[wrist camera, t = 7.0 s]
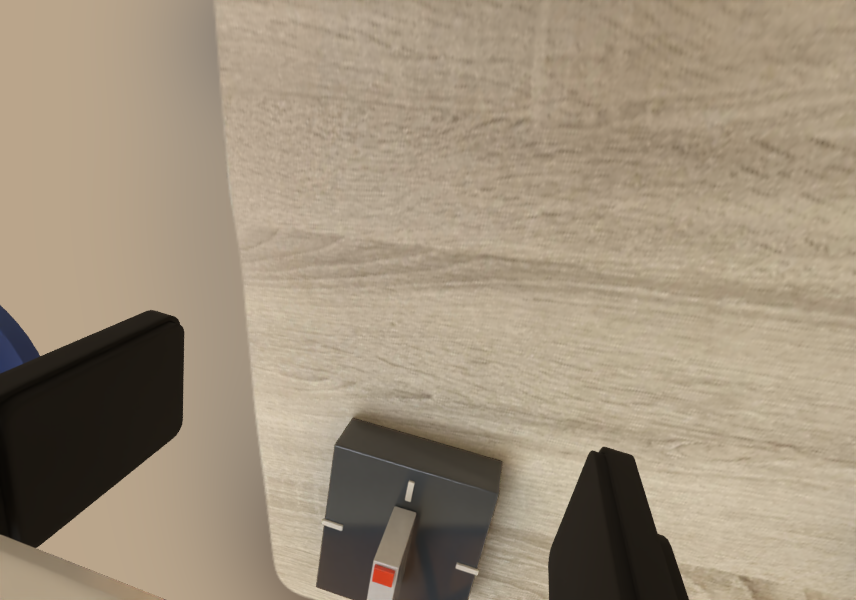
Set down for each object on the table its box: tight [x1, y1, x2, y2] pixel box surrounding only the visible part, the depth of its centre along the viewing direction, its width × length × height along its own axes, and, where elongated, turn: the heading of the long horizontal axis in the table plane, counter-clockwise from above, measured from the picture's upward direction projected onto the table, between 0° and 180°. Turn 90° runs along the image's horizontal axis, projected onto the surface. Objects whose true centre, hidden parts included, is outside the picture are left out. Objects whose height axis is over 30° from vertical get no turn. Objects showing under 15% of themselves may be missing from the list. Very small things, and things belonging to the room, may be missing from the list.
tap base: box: [316, 418, 502, 600], centre depth 30 cm, size 12×10×3 cm
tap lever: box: [367, 506, 416, 600], centre depth 27 cm, size 6×1×4 cm, turn 170°
